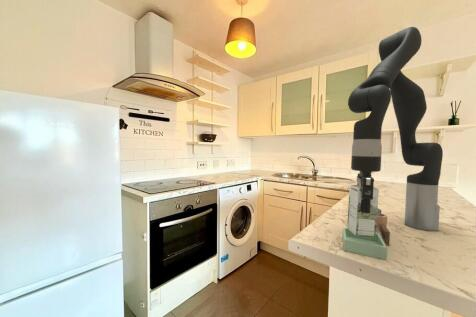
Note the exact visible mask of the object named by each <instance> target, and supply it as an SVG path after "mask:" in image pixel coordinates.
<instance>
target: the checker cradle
mask: <svg viewBox="0 0 476 317" xmlns="http://www.w3.org/2000/svg"><path fill="white" fill-rule="evenodd" d="M380 232H381V234H382V239H383V241H384V243H385V245H386V246H390V241H391V240H390V238H391V232H390V230H389V228H388V226H387V227H386V226H385V225H384V224H381V223H380Z"/></svg>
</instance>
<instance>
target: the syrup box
mask: <svg viewBox="0 0 476 317" xmlns="http://www.w3.org/2000/svg"><path fill="white" fill-rule="evenodd" d="M361 188H362V187H361ZM359 189H360V188H359V185H357V184H349V191H348V204H347V205H348V206H347V207H348V208H347V211H348V212H347V223H346V224H347V226H346V228H348V229H349V230H350V231H351V232H352V233H353V234H354V235H356V236H368V237H376V225H377V209H378V207H379V206H378V205H379V192H380V190H379V189H378V188H377V187H375V186H373V200H371V202H370V213H362V212H361V198H360V197H361V191H360V190H359ZM364 194H365V195H369V193H367V192H365V193H364Z"/></svg>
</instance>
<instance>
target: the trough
mask: <svg viewBox="0 0 476 317" xmlns="http://www.w3.org/2000/svg"><path fill="white" fill-rule="evenodd" d="M342 245H343V252H346V253H347V252H348V253H354V254H358V255H362V256H367V257H371V258H377V259H382V260H387V256H388V254H387V253H388V247H387V245H385V243H384V241H383V239H382V238H381V236H380V234H379V233H376V237H368V236H356V235H354V234H353V233H352V232H351V231H350V230H349V229H348V228H347V227H342Z"/></svg>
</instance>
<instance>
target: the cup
mask: <svg viewBox="0 0 476 317" xmlns="http://www.w3.org/2000/svg"><path fill="white" fill-rule="evenodd" d="M380 223H381V224H384V225H385V226H386V227H387V228H388V215H387V213H383V212H381V216H377V225H376V227H378V229H379V231H380Z"/></svg>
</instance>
